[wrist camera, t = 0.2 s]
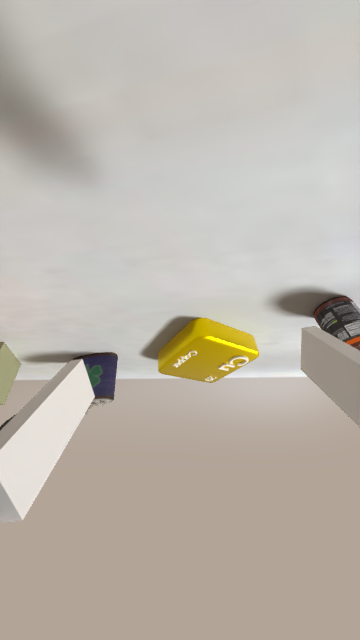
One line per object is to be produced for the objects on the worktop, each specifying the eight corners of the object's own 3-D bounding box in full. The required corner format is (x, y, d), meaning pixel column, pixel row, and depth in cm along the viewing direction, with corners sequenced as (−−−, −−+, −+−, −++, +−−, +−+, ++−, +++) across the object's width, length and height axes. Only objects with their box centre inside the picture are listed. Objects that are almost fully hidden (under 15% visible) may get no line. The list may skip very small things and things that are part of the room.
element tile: (196, 312, 35) (201, 337, 32) (257, 335, 42) (265, 357, 39) (154, 353, 44) (154, 375, 41) (209, 366, 51) (213, 386, 48)
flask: (76, 363, 44) (63, 419, 37) (68, 356, 42) (53, 415, 35) (120, 357, 43) (114, 412, 37) (114, 350, 41) (108, 407, 35)
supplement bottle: (339, 316, 38) (381, 375, 32) (306, 320, 38) (341, 380, 31) (359, 293, 34) (413, 356, 27) (322, 297, 34) (366, 361, 27)
